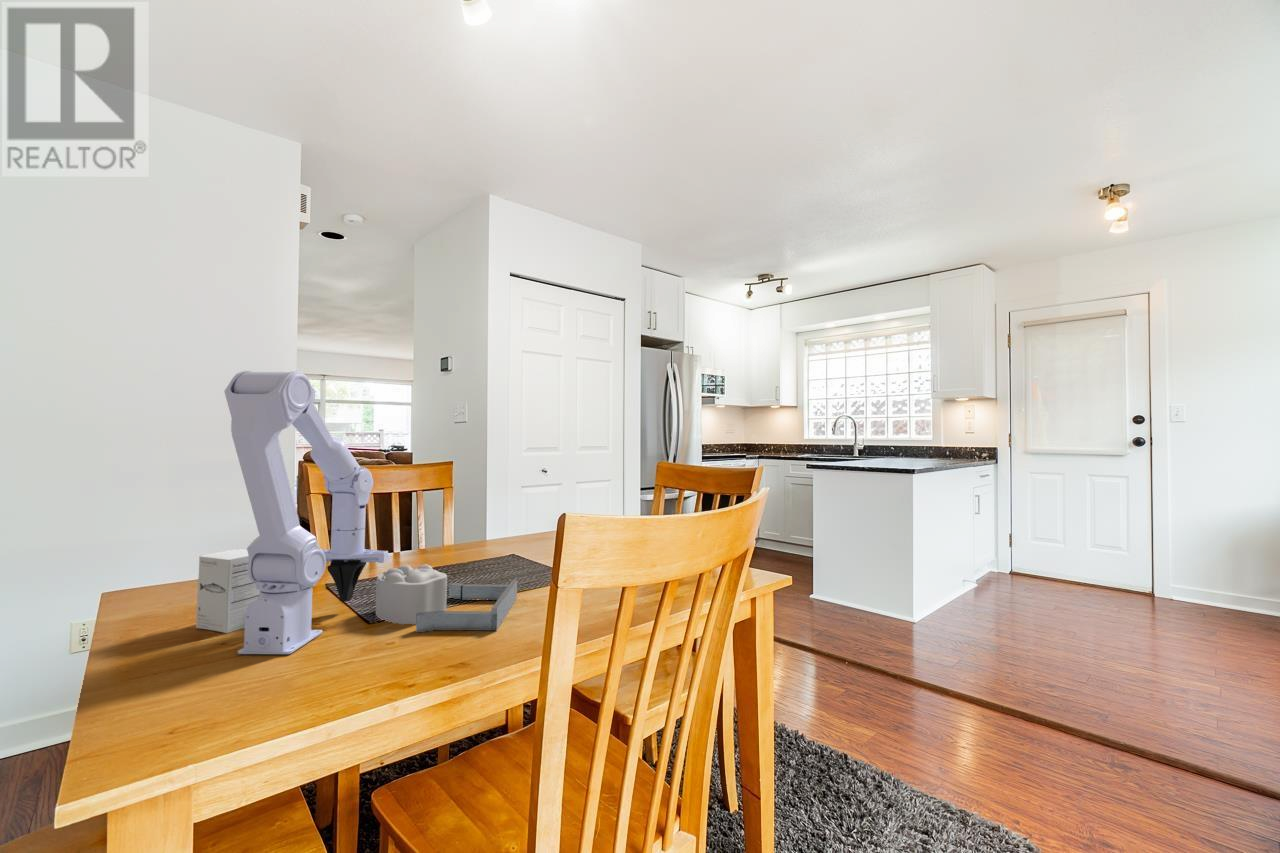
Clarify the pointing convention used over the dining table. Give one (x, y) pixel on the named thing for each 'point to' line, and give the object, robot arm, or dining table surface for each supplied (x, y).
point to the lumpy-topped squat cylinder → (410, 593)
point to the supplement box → (224, 591)
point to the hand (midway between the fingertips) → (346, 599)
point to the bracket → (471, 618)
